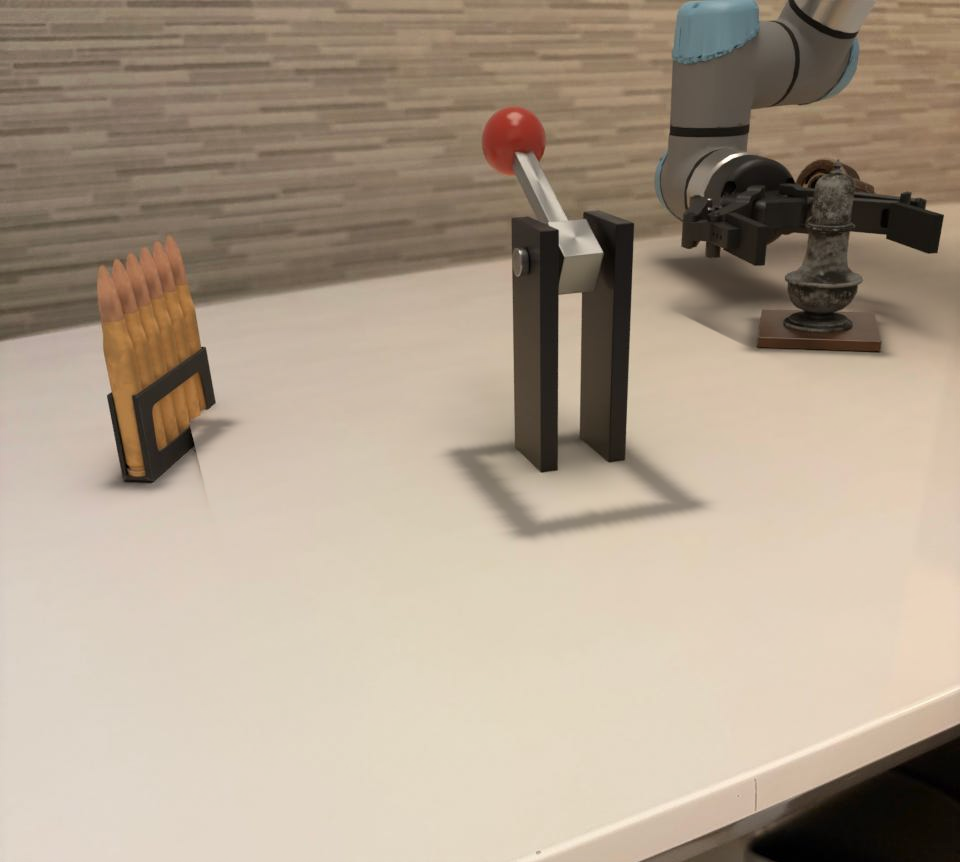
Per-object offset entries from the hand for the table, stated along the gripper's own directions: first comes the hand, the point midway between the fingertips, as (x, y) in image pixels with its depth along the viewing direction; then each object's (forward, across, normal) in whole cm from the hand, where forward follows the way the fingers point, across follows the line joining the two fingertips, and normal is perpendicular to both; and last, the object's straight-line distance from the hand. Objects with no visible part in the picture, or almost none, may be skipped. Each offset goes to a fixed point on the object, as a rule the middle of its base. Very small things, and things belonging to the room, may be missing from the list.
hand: (850, 240), depth 79 cm
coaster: (-3, 0, -8) cm, 8 cm away
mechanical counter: (-51, -25, -8) cm, 58 cm away
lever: (+16, +27, +5) cm, 32 cm away
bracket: (+21, +26, -8) cm, 35 cm away
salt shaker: (-3, 0, -7) cm, 8 cm away
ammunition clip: (+11, +49, -8) cm, 51 cm away
